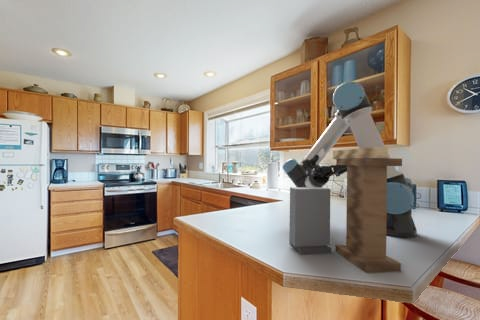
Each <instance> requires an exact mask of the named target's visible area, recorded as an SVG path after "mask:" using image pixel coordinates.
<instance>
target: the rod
mask: <svg viewBox="0 0 480 320" xmlns="http://www.w3.org/2000/svg"><path fill="white" fill-rule="evenodd" d="M388 154H389V149H388V147H386V146H385V147H373V148H361V149H359V148H352V149H340V150H333V151H332V159H333V160H336V159H346V158H388Z"/></svg>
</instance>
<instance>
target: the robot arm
mask: <svg viewBox="0 0 480 320" xmlns="http://www.w3.org/2000/svg"><path fill="white" fill-rule="evenodd" d="M365 91H366V90H365V88H364V86H363V85H361V84H360V83H359V82H356V81H346V82H342V83H341V84H340V85H339V86H337V87H336V88H335V90H334V92H333V94H332V102H333V105H334V106H335V108H336V109H337V110H336V112H335V113H334V118H333V119H332V120H331V122H330V123H329V125H328V126H327V128H326V129H325V130H324V131H323V133H322V134H321V136H320V137H319V138H318V140H316V142H315V143H314V145H313V146H312V147H311V148H310V150H309V152H307V154H306V155H305V157H304V158H303V159H302V161H301V162H300V163H299V162H298V160H296V158H291V159H288V160H287V161H286V162H285V163H284V164H283V165H282V170H283V171H284V173H285V175H287V176H288V178H289V179H290V180H291V182H292V183H293V184H294V185H295V187H323V188H324V186H325V185H327V183H328V182H329V180H330V177H332V176H335V177H336V178H338V177H340V176H342V175H344V174H345V173H347V165H336V164H331V165H329V166H320V164H321V162H323V160H324V158H325V157H326V156H327V154H328V153H329V152H330V151H331V150H332V148H333V147H334V146H335V144H336V143H337V142H338V141H339V139H340V138H341V137H342V136H343V134H344V133H345V132H346V131H347V130H348V128H350V130H351V133H352V135H353V137H354V140H355V142H356V144H357V146H358V149H361V148H373V147H386V145H385V144H384V141H383V138H382V137H381V134H380V132H379V129H378V128H377V126H376V124H375V121H374V119H373V117H372V115H371V112H372V110H373V107H372V104H371V103H370V100H369V98H368V96H367V94H366V92H365ZM388 158H391V155H390V153H388ZM414 204H415V195H414V192H413V182H412V179H410V178H408V177H405V176H404V172H401V171H400V170H397V168H396V166H387V214H386V236H392V237H396V238H397V237H399V238H415V237H417V236H418V235H417V234H418V231H417V230H418V229H417V227H416V225H415V222H414V218H413V216H412V214H413V213H412V211H413V210H412V207H413V206H414Z"/></svg>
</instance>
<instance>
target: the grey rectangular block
mask: <svg viewBox="0 0 480 320" xmlns="http://www.w3.org/2000/svg"><path fill="white" fill-rule="evenodd" d="M288 232H289V239H288V241H289V244H290V246H292V248H294V249H295V251H297V252H298V253H299V254H300V255H318V254H319V255H320V254H332V248H331V247H330V246H331V188H328V187H324V186H323V187H296V186H295V187H292V186H291V187H289V231H288Z"/></svg>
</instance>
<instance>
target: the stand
mask: <svg viewBox="0 0 480 320" xmlns="http://www.w3.org/2000/svg"><path fill="white" fill-rule="evenodd" d="M335 160H336V161H335V163H336V164H335V165H347V172H346V227H345V230H346V231H345V233H346V235H345V242H346V243H345V244H335V247H334V248H335V250H334V251H335V253H338V254H339V255H340V256H342V257H344V259H346V260H347V261H349V262H350V263H352V264H354V265H355V266H356V267H357V268H359V269H361V270H362V271H364V272H365V273H367V274H372V273H388V272H391V273H392V272H402V263H401V262H399V261H397V260H396V259H393V258H392V257H390V256H388V255H387V235H386V214H387V166H395V167H402V166H403V158H391V157H390V158H346V159H335Z"/></svg>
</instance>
